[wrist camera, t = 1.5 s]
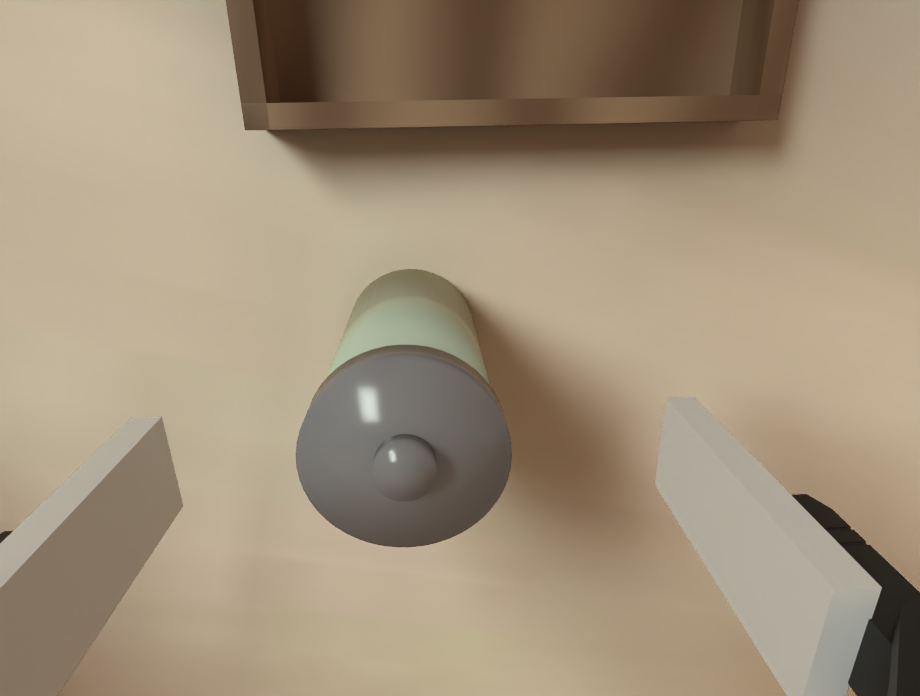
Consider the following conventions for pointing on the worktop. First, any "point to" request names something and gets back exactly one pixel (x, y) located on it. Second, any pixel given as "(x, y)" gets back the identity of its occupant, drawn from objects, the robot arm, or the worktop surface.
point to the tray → (507, 61)
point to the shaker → (405, 419)
